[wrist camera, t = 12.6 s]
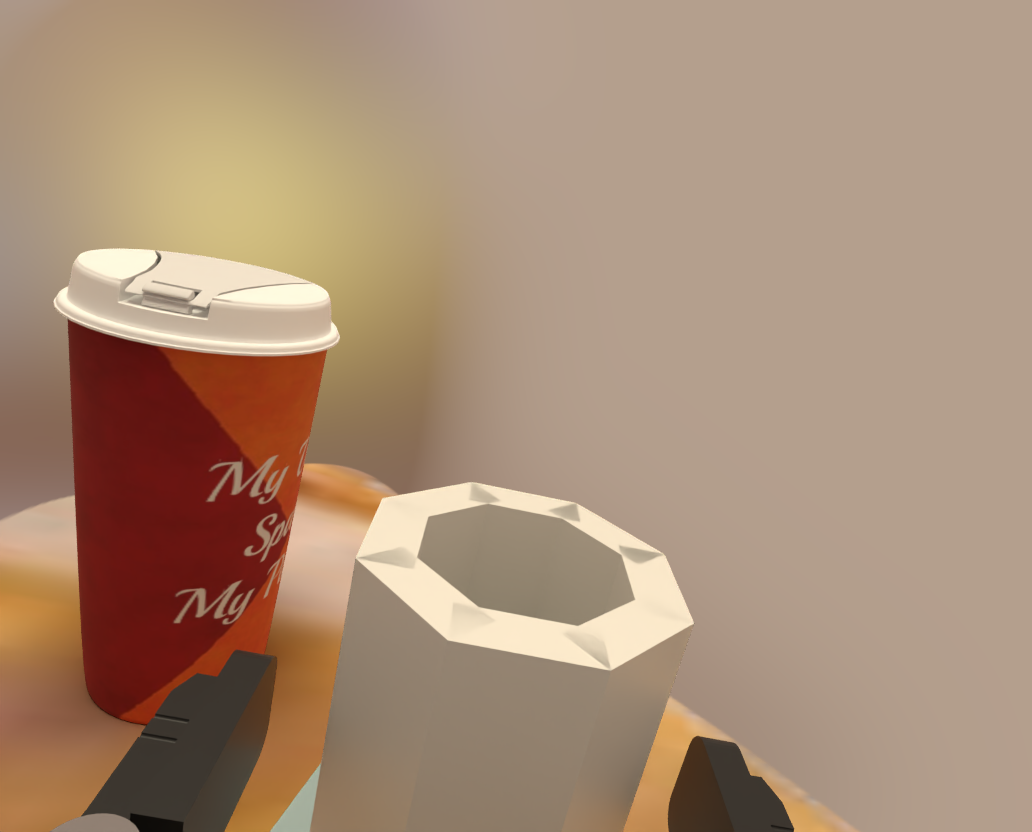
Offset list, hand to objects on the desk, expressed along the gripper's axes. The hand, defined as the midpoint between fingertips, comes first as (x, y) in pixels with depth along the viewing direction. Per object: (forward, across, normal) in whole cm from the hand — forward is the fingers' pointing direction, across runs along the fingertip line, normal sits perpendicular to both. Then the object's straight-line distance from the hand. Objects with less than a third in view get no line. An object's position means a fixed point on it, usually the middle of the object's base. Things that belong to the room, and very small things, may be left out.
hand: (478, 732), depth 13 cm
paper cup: (+10, +10, +9) cm, 16 cm away
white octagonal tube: (0, 0, +7) cm, 7 cm away
